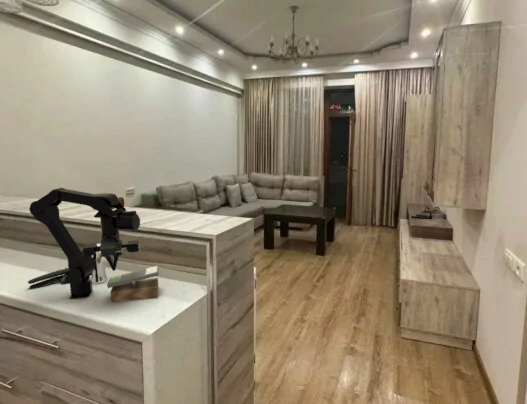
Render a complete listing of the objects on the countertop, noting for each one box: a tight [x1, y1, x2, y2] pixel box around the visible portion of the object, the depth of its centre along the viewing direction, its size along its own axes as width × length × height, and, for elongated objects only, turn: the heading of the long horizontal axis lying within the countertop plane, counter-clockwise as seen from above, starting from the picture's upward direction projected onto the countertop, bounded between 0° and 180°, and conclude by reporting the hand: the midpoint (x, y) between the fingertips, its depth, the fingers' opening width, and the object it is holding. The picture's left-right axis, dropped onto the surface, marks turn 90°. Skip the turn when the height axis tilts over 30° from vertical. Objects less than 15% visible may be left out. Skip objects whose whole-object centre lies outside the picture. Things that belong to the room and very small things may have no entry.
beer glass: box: [90, 242, 108, 285], centre depth 145 cm, size 7×7×15 cm
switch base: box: [110, 277, 159, 303], centre depth 133 cm, size 16×9×6 cm, turn 104°
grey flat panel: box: [106, 265, 160, 289], centre depth 132 cm, size 18×7×2 cm, turn 103°
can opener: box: [27, 267, 70, 290], centre depth 143 cm, size 18×7×6 cm, turn 124°
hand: (114, 270), depth 130 cm, fingers closed
